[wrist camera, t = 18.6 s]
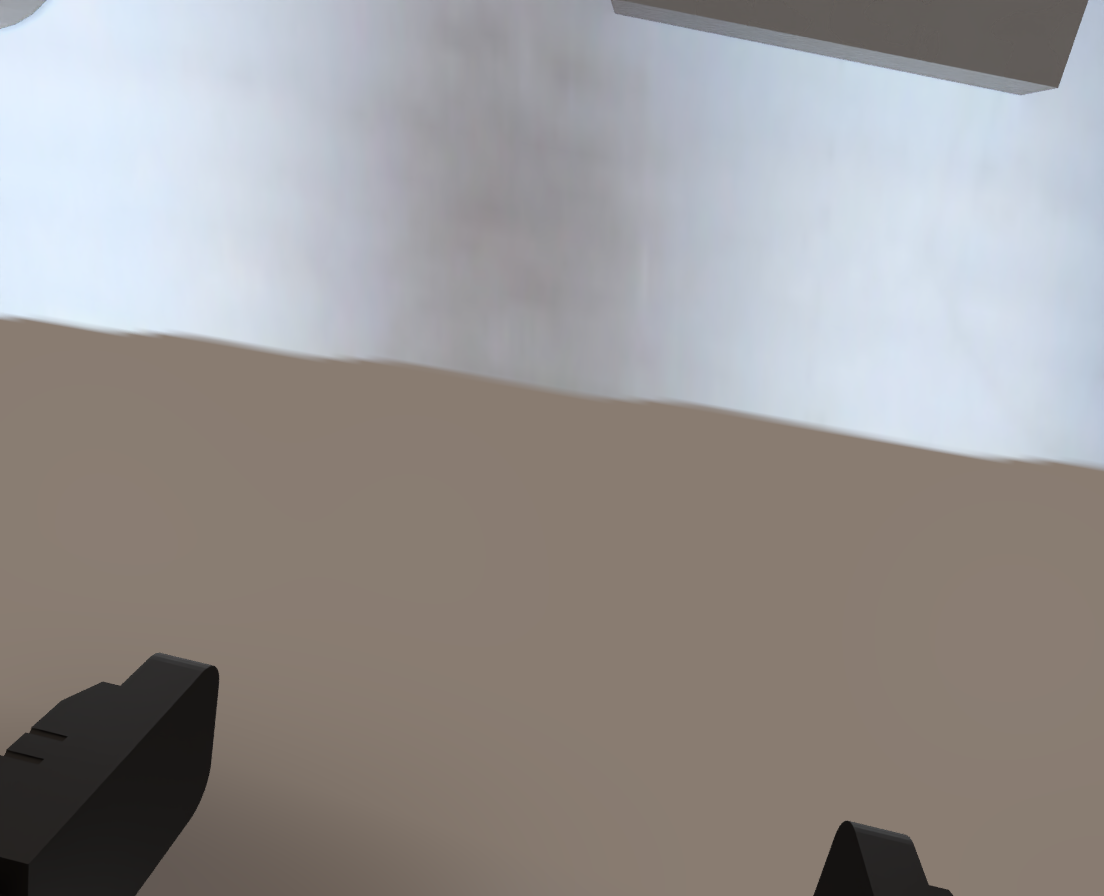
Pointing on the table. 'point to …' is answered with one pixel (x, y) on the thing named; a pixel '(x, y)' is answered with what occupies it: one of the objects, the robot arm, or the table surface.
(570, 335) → the table surface
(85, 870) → the robot arm
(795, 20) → the jig
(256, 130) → the table surface
